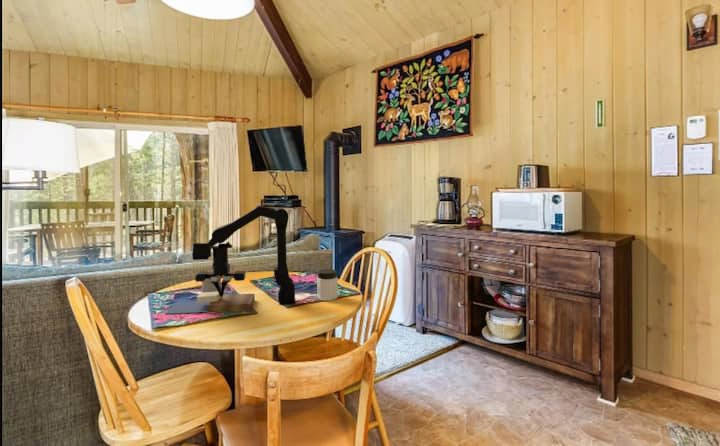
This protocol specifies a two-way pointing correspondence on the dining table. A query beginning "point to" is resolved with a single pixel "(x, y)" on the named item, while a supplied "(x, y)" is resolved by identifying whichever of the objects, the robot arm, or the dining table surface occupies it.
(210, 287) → the cup
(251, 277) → the dining table surface
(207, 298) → the beige flat block
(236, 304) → the cutting board
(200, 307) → the felt mat
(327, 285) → the jar
